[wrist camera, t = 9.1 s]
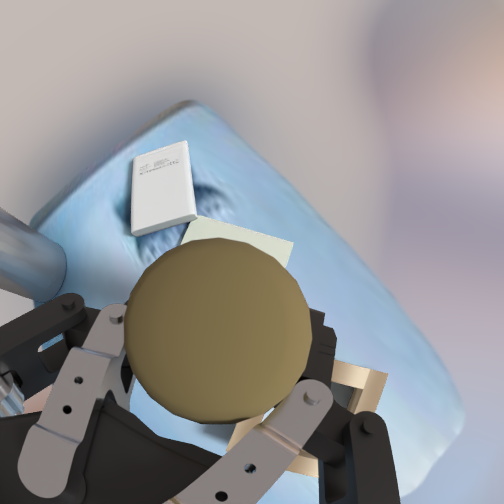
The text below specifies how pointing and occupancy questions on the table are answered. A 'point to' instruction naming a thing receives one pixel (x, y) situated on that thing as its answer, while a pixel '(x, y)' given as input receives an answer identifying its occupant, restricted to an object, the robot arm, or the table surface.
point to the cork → (217, 331)
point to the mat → (238, 237)
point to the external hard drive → (162, 189)
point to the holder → (362, 400)
